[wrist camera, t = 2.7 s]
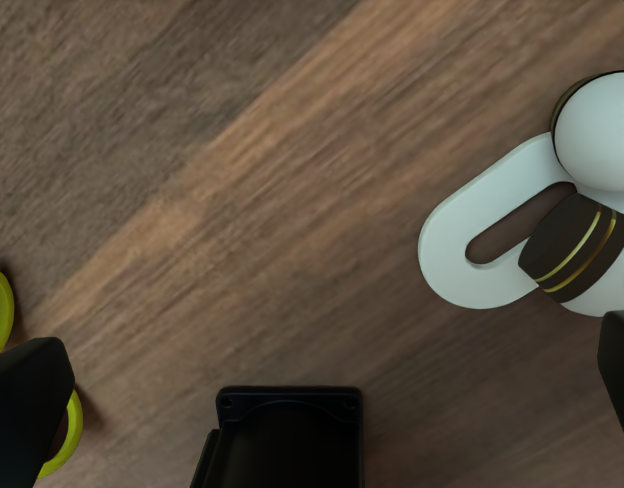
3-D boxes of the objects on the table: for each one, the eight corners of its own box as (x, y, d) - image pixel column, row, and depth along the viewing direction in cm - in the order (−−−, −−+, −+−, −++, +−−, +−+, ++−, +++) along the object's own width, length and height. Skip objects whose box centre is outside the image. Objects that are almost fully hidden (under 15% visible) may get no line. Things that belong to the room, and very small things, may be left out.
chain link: (468, 331, 22) (392, 243, 21) (466, 323, 22) (391, 237, 21) (660, 210, 19) (586, 102, 18) (652, 205, 20) (580, 99, 19)
